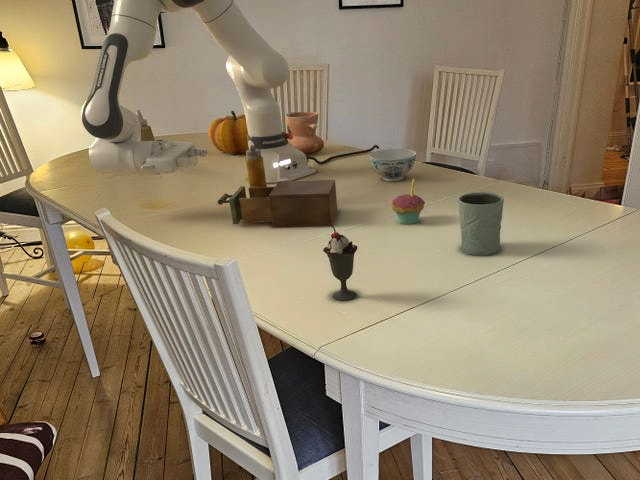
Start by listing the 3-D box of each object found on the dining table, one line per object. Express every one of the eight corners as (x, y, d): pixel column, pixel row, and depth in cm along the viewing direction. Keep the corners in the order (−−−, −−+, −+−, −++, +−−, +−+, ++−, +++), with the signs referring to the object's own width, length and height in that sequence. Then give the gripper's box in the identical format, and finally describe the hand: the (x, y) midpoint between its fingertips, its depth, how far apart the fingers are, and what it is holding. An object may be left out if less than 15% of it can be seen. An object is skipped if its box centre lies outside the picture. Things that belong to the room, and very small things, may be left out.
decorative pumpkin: (202, 156, 248) (194, 115, 241) (232, 144, 266) (226, 105, 258) (247, 158, 242) (241, 116, 234) (276, 145, 259) (271, 106, 252)
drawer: (217, 225, 172) (213, 199, 168) (229, 210, 183) (225, 186, 179) (287, 223, 171) (284, 197, 167) (295, 208, 181) (292, 184, 178)
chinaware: (362, 183, 205) (361, 158, 201) (380, 171, 217) (379, 147, 213) (407, 186, 200) (406, 160, 196) (423, 173, 211) (422, 149, 208)
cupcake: (428, 217, 172) (427, 172, 166) (419, 228, 165) (418, 180, 159) (397, 215, 175) (396, 170, 169) (387, 225, 168) (385, 179, 162)
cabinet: (272, 227, 171) (268, 195, 166) (282, 211, 182) (278, 181, 178) (331, 226, 170) (328, 193, 165) (337, 210, 181) (335, 179, 177)
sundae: (327, 290, 134) (320, 219, 126) (359, 288, 134) (355, 217, 127) (327, 304, 128) (320, 231, 121) (361, 301, 128) (356, 228, 121)
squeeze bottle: (153, 162, 244) (142, 111, 235) (133, 162, 246) (122, 112, 236) (163, 157, 251) (153, 107, 242) (144, 157, 252) (133, 108, 243)
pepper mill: (263, 203, 190) (255, 142, 182) (272, 206, 187) (264, 144, 178) (249, 207, 188) (240, 145, 179) (258, 210, 184) (249, 147, 176)
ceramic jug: (334, 153, 244) (330, 113, 236) (301, 160, 236) (297, 119, 229) (307, 146, 256) (304, 108, 249) (276, 153, 248) (271, 113, 241)
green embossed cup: (490, 259, 144) (492, 206, 138) (449, 252, 149) (450, 201, 143) (508, 245, 152) (511, 194, 146) (469, 239, 157) (470, 189, 151)
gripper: (133, 155, 164) (187, 153, 163) (162, 138, 181) (210, 136, 180) (139, 180, 167) (191, 178, 166) (166, 161, 184) (214, 159, 184)
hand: (201, 156), depth 173 cm, fingers open, 8 cm apart
